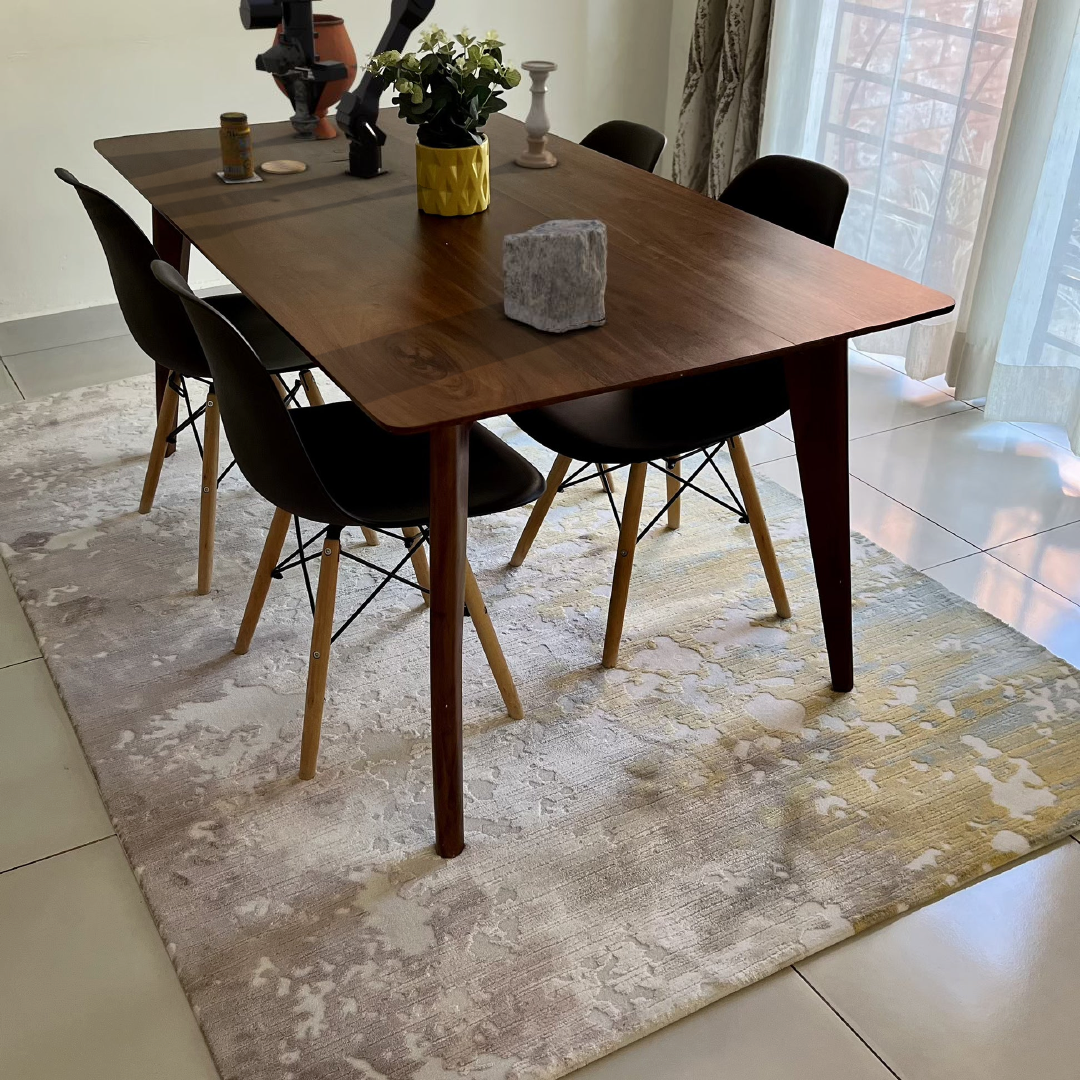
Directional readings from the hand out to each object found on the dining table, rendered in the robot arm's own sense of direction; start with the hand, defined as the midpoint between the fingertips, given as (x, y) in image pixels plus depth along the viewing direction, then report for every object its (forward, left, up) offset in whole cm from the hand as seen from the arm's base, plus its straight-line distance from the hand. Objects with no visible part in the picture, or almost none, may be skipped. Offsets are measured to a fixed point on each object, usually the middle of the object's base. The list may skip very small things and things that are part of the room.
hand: (304, 113), depth 232 cm
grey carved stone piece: (0, 0, -5) cm, 5 cm away
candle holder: (-41, +27, -13) cm, 51 cm away
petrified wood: (+31, +79, -13) cm, 86 cm away
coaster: (-3, -10, -13) cm, 17 cm away
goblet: (-29, -25, -13) cm, 41 cm away
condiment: (+8, -12, -13) cm, 19 cm away
